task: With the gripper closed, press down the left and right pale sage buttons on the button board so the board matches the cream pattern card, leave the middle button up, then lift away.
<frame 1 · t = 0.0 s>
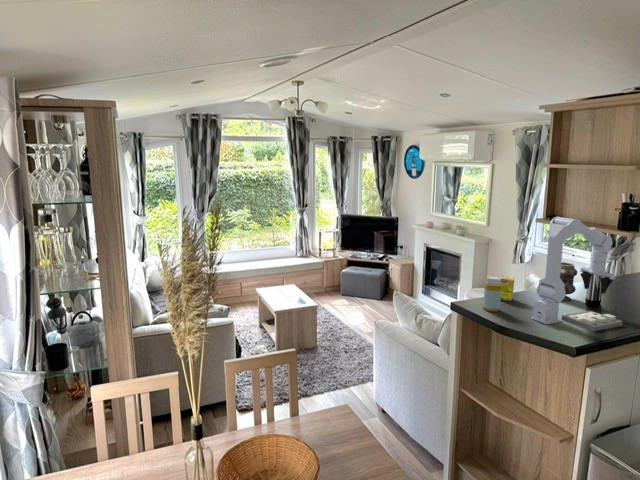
hand: (594, 291, 197), 10 cm above the table, tool pointing down, fingers open, 7 cm apart
middle button: (598, 320, 182), point 2 cm above the table, slide at 0.0 cm
bottle: (490, 310, 200), on the table
apothecary jar: (560, 299, 219), on the table
left button: (589, 321, 180), point 2 cm above the table, slide at 0.0 cm
button board: (598, 325, 183), on the table
right button: (608, 318, 185), point 2 cm above the table, slide at 0.0 cm
supplement box: (505, 300, 215), on the table
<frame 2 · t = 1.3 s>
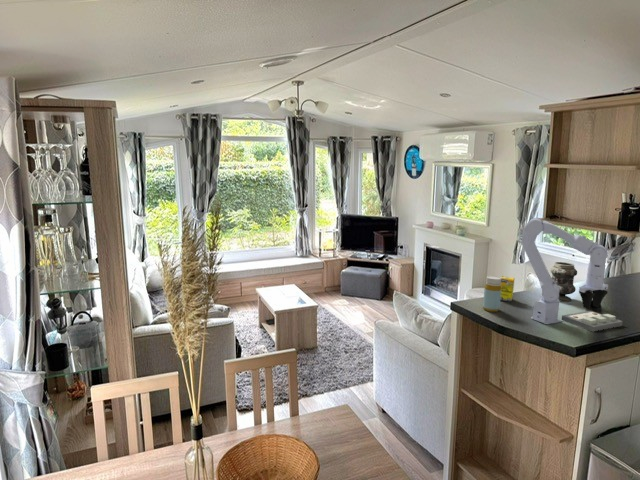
hand: (591, 307, 179), 8 cm above the table, tool pointing down, fingers open, 5 cm apart
nothing on the table moved.
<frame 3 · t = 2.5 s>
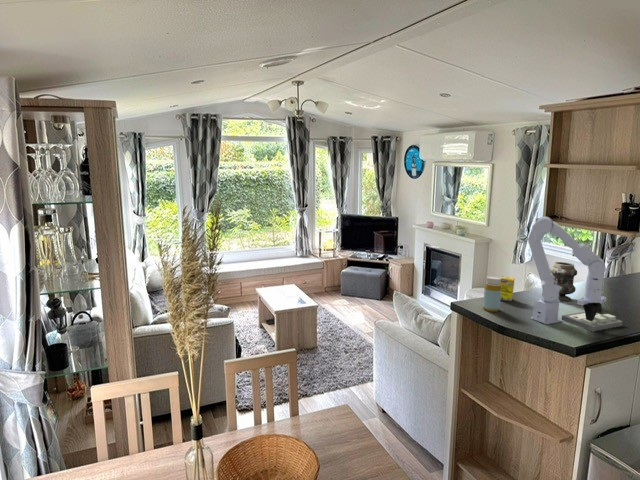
hand: (589, 320, 180), 3 cm above the table, tool pointing down, fingers closed, pressing on left button
left button: (589, 322, 180), point 2 cm above the table, slide at 0.4 cm, touching gripper
everything else where it was.
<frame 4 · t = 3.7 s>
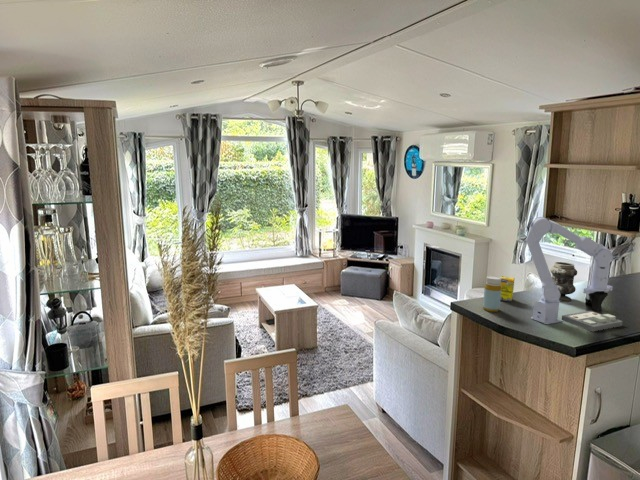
hand: (595, 309, 180), 8 cm above the table, tool pointing down, fingers closed
left button: (588, 324, 180), point 1 cm above the table, slide at 1.1 cm
everything else where it was.
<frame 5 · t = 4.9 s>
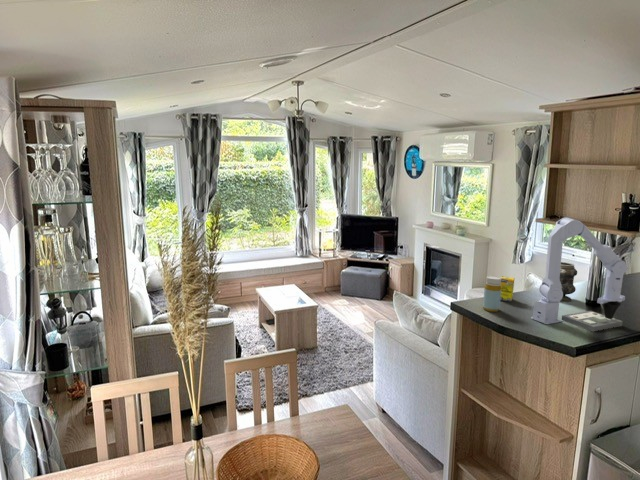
hand: (608, 318, 185), 2 cm above the table, tool pointing down, fingers closed, pressing on right button
right button: (608, 320, 185), point 1 cm above the table, slide at 1.1 cm, touching gripper
everything else where it was.
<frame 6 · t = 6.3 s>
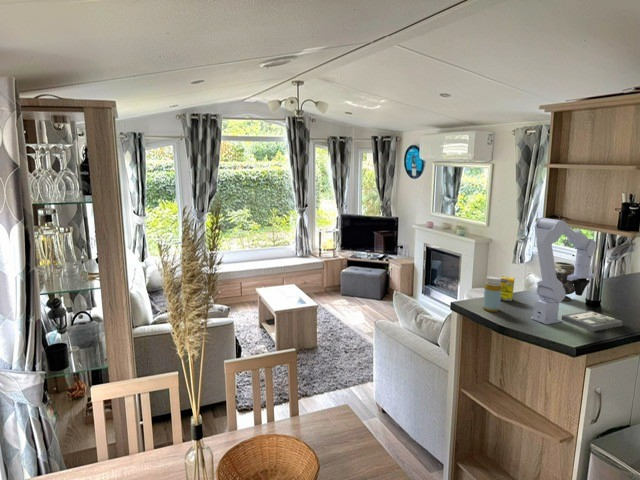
hand: (578, 295, 194), 9 cm above the table, tool pointing down, fingers closed
right button: (608, 320, 185), point 1 cm above the table, slide at 1.1 cm
everything else where it was.
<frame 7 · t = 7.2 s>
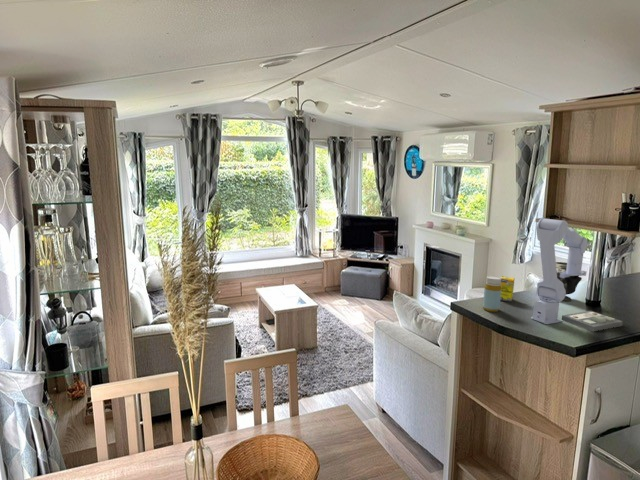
hand: (570, 292, 197), 9 cm above the table, tool pointing down, fingers closed
nothing on the table moved.
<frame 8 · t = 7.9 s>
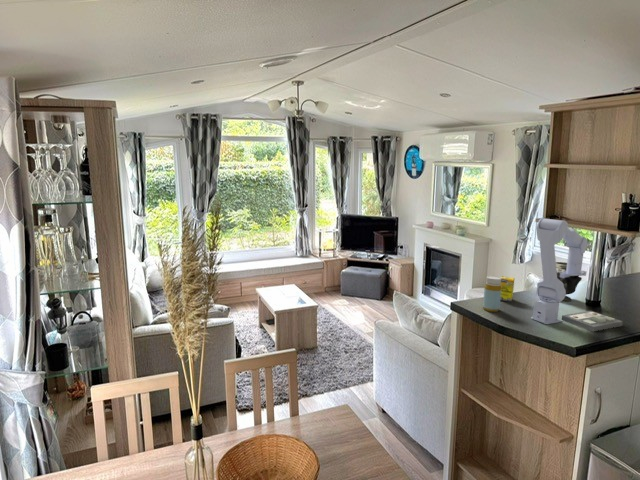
hand: (570, 292, 197), 9 cm above the table, tool pointing down, fingers closed
nothing on the table moved.
at the end: left button slide at 1.1 cm; right button slide at 1.1 cm; middle button slide at 0.0 cm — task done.
